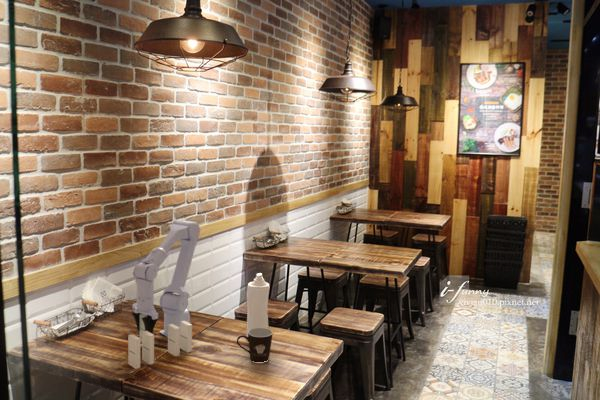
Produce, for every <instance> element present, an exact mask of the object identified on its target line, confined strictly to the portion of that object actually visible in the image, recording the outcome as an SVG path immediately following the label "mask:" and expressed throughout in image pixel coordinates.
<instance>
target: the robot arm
mask: <svg viewBox="0 0 600 400" xmlns="http://www.w3.org/2000/svg"><path fill="white" fill-rule="evenodd" d="M200 235H201V228H200V225H199V223H198V222H196V221H189V220H183V219H178V218H177V219H175V220H173V221H172V223H171V224H170V225H169V232H168V233H167V234H166V236H165V238H164V239H163V240H162V242H161V243H160V245H159V246H158V247H154V248H152V250H151V251H150V253H148V255H147V256H146V258H144V260H143V261H142V262H140V263H137V264H136V265H135V267H134V269H133V271H132V276H133V277H134V281H135V284H136V303H133V304H132V310H133V312H131V315H132V317H133V319H134V321H135V325H136V328H137V332H139V333H140V314H146V315H147V317H143V318H142V320H143V323H144V326H145V331H148V332H150V333H152V334H154V329H155V325H156V324H157V322H158V320H159V318H160V317H159V313H158V312H157V311H156V308H155V307H154V297H155V295H154V294H155V293H154V291H155V290H154V285H155V284H154V280H155V279H156V278H157V276H158V272H159V270H160V267H161V265H162V264H163V263H164V262H165V261H166V259H167V257H168V254H167V253H168V252H169V251H170V249H171V248H173V247H174V245H175V244H176V243H177V242H179V243H180V245H181V246H180V251H179V253H178V258H177V261H176V264H175V268H174V272H173V276H172V278H171V283H170V284H169V285H168V286H166V287H165V288H164V289H163V292H162V294H161V295H160V298H159V306H160V308H161V309H162V312H163V313H164V314H163V329H161V330H160V331H159V334H162V335H163V336H165V337H166V338H168V325H169V324H174V325H175V326H177V327H179V328H180V322H181V321H186V322H188V323H190V324H191V315H190V312H189V310H188V309H187V308H188V305H189V296H190V293H189V291H188V290H187V289H186V283H187V279H188V277H189V272H190V269H191V265H192V261H193V257H194V254H195V249H196V246H197V244H198V240H199V237H200Z"/></svg>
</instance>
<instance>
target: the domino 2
mask: <svg viewBox="0 0 600 400" xmlns="http://www.w3.org/2000/svg"><path fill="white" fill-rule="evenodd" d="M143 317H147V315H146V314H140V332H139V338H140V343H142V332H143V331H145V326H144V323H143V320H142V318H143Z"/></svg>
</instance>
